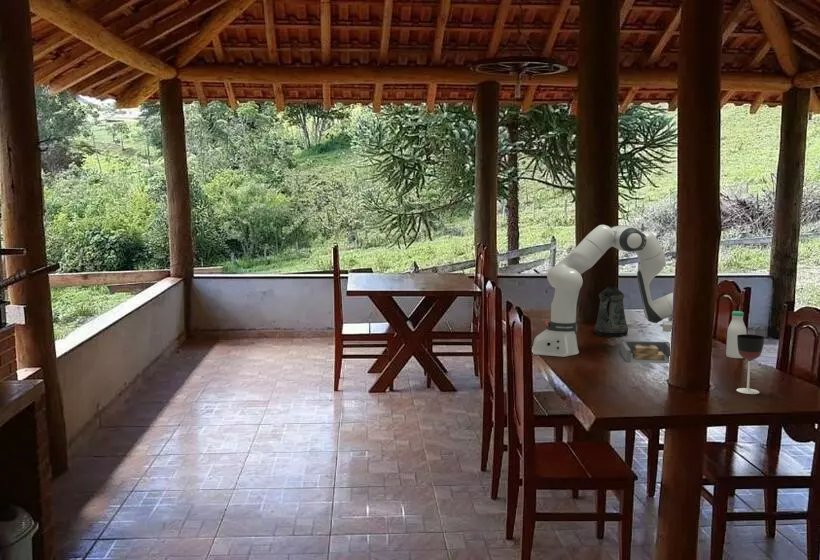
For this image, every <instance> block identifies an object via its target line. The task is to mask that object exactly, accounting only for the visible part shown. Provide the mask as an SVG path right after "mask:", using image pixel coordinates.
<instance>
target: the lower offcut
mask: <svg viewBox="0 0 820 560" xmlns="http://www.w3.org/2000/svg"><path fill="white" fill-rule="evenodd" d="M633 358H634V359H636V360H664V358H665V355H664V353H663V352H658V354H636V353H635V352H634V351H633Z"/></svg>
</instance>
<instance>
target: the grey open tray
mask: <svg viewBox="0 0 820 560" xmlns="http://www.w3.org/2000/svg"><path fill="white" fill-rule="evenodd" d="M670 344H671V343H670V342H669V341H648V340H647V341H646V340H644V341H643V340H641V341H640V340H620V354H621V355H622V357H623V359H624V360H625V362H626V363H645V364H653V363H654V364H670V363H669V356H670ZM634 346H656V347H657V348H658V352H663V353H664V355H665V358H664V360H636V359H634V358H633V351H634Z"/></svg>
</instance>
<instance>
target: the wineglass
mask: <svg viewBox="0 0 820 560" xmlns="http://www.w3.org/2000/svg"><path fill="white" fill-rule="evenodd" d="M737 344H738V351H739V354H740V355H741V356H742V357H743V358H742V359H745V360H747V374H746V375H747V377H746V388H745V387H740V388H739V387H738V388H737V389H736V392H738V393H742V394H749V395H757V394H760V391H759V390H757V389H753V388H750V382H751V381H750V379H751V377H750V376H751V361H753V360H756V359H758V358H759V357H760V356H761V355H762V352H763V348H764V345H765V336H762V335H758V334H742V335H737Z"/></svg>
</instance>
